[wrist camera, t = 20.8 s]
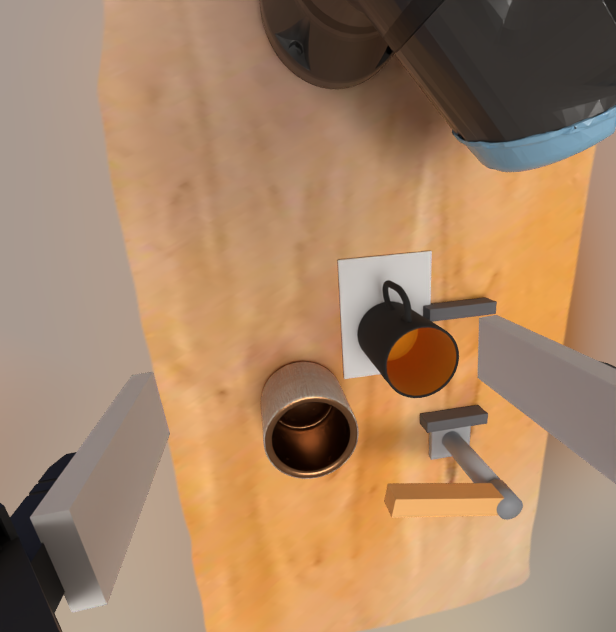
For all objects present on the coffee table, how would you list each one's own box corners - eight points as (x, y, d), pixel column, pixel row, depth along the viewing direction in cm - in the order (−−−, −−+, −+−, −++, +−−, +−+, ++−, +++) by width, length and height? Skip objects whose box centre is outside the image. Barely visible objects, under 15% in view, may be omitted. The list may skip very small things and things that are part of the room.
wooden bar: (382, 501, 43) (392, 522, 40) (387, 479, 42) (397, 499, 39) (501, 499, 45) (518, 519, 43) (508, 479, 45) (525, 497, 42)
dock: (421, 304, 48) (466, 330, 38) (485, 297, 50) (544, 320, 39) (419, 457, 56) (456, 513, 45) (475, 448, 57) (523, 500, 46)
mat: (337, 259, 45) (338, 260, 45) (430, 250, 47) (431, 251, 46) (343, 377, 50) (344, 379, 49) (427, 366, 51) (429, 367, 51)
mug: (408, 266, 46) (451, 281, 36) (421, 351, 50) (463, 386, 40) (345, 282, 46) (371, 303, 36) (363, 367, 49) (391, 407, 40)
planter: (272, 352, 47) (276, 386, 38) (350, 368, 50) (372, 404, 41) (252, 424, 50) (252, 473, 41) (327, 437, 52) (343, 485, 43)
